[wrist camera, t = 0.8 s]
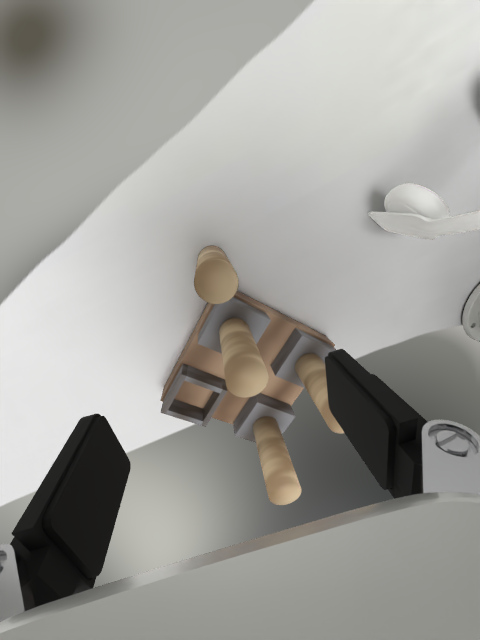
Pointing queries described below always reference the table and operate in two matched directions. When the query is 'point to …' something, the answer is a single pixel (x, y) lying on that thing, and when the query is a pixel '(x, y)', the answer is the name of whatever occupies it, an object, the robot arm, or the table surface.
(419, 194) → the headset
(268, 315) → the stool
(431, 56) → the table surface
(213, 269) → the oak leg
